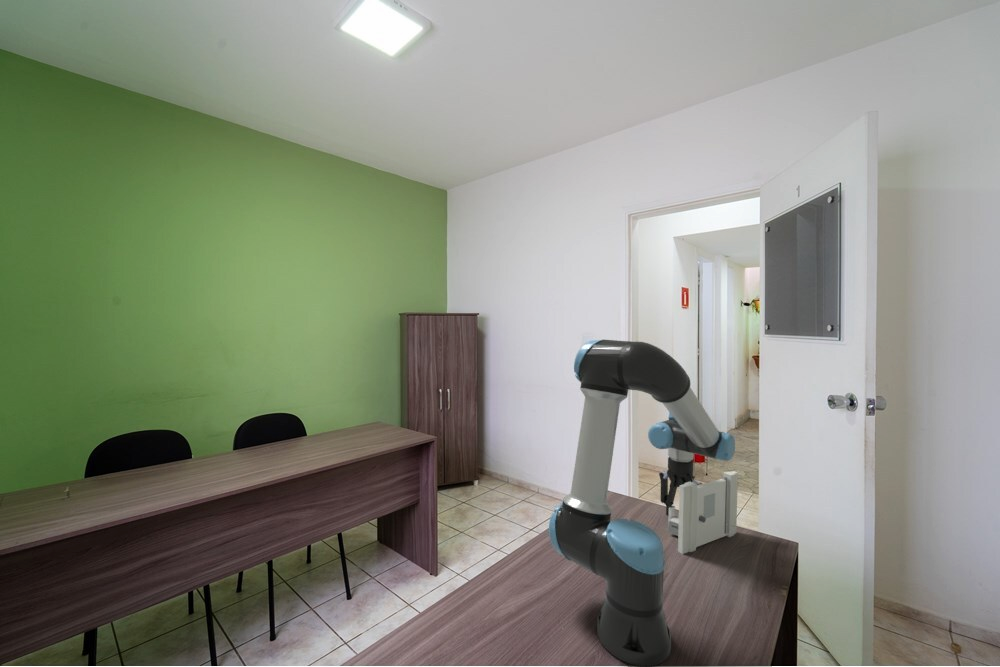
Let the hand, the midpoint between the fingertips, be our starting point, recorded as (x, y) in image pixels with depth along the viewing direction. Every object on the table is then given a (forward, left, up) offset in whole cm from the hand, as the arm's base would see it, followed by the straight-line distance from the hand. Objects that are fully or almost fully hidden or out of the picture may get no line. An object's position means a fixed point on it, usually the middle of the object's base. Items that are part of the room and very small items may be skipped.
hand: (678, 529), depth 130 cm
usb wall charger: (0, 0, -1) cm, 1 cm away
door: (+4, -8, -1) cm, 9 cm away
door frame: (+4, -8, -1) cm, 9 cm away
